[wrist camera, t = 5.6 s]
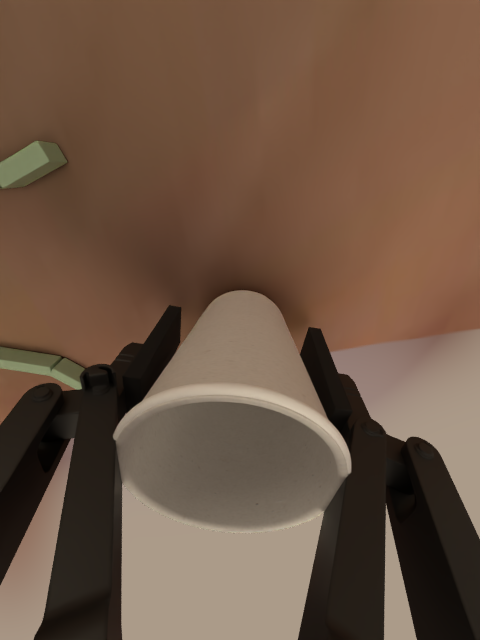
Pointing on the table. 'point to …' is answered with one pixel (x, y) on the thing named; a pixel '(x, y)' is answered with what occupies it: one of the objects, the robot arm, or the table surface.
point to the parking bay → (19, 174)
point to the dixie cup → (233, 428)
